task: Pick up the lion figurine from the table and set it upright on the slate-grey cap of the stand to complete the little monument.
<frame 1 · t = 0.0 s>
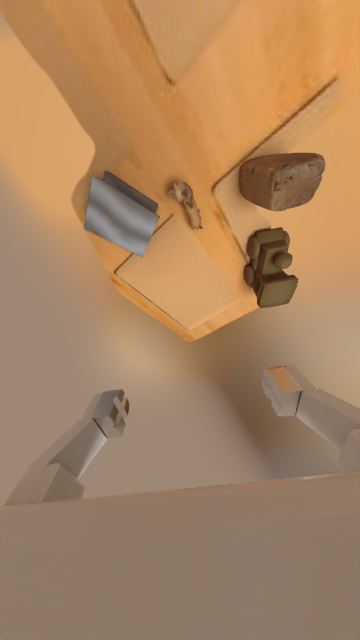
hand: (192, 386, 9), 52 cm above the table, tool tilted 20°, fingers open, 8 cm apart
wooden toy train: (259, 256, 60), on the table
stand: (126, 215, 47), on the table
block: (257, 174, 43), on the table
lion figurine: (186, 204, 47), on the table
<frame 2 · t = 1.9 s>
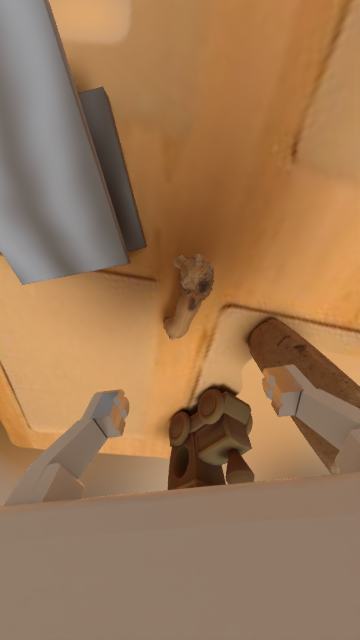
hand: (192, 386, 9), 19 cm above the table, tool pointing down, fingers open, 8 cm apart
wooden toy train: (204, 409, 41), on the table
stand: (76, 197, 20), on the table
block: (271, 339, 31), on the table
lion figurine: (182, 293, 27), on the table
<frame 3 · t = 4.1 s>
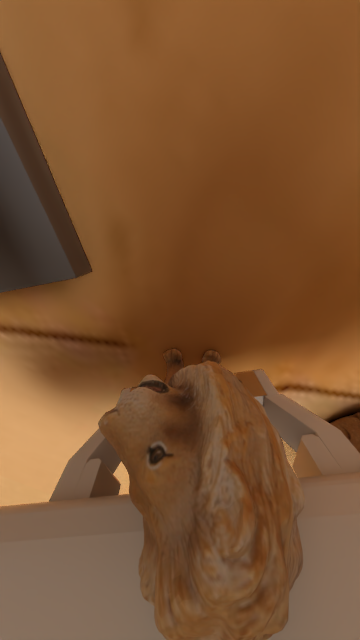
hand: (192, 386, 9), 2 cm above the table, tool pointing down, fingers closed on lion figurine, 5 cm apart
block: (352, 433, 17), on the table
lion figurine: (174, 379, 13), on the table, touching gripper
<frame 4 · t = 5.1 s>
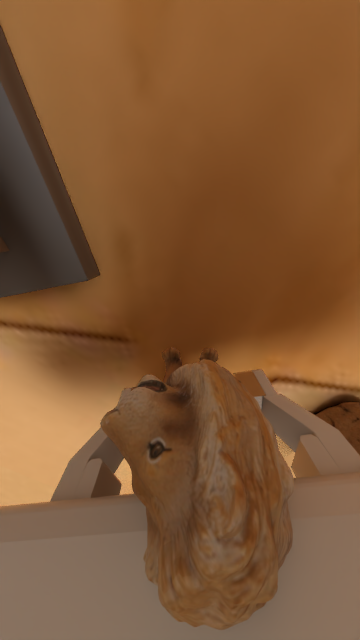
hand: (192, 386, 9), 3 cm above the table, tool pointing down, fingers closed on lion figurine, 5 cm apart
block: (339, 423, 18), on the table
lion figurine: (173, 377, 13), point 1 cm above the table, touching gripper
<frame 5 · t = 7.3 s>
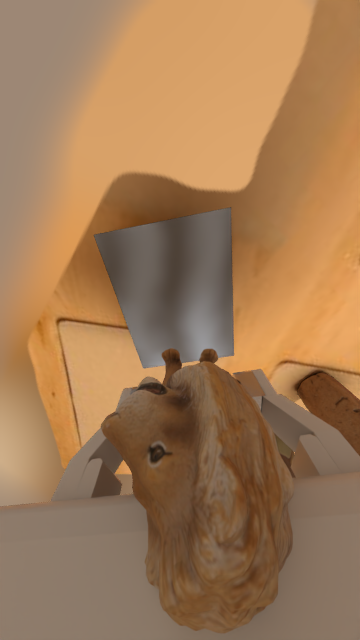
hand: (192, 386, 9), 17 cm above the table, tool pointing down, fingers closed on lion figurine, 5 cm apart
wooden toy train: (245, 439, 45), on the table
stand: (176, 286, 24), on the table
block: (317, 386, 35), on the table
lion figurine: (173, 378, 13), point 15 cm above the table, touching gripper
when the fingers open (11 cm above the table, at t = 9.4 s): lion figurine moves 2 cm, resting on stand.
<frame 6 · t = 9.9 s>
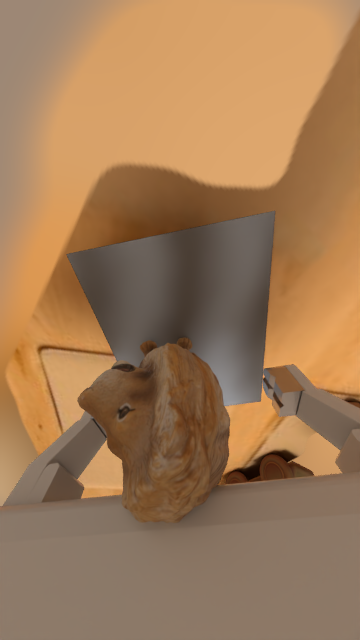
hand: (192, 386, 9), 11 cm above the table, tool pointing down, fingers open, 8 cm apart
wooden toy train: (259, 468, 40), on the table
stand: (184, 308, 19), on the table
lion figurine: (154, 368, 14), point 8 cm above the table, touching gripper, stand
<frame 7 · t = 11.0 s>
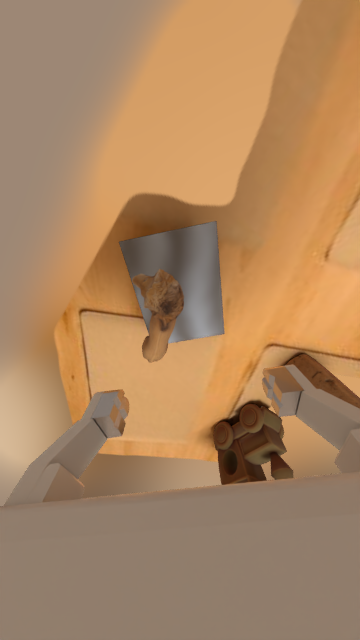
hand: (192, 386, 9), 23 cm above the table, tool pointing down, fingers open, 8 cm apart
wooden toy train: (240, 419, 50), on the table
stand: (178, 281, 30), on the table
block: (300, 367, 41), on the table
lion figurine: (160, 308, 24), point 7 cm above the table, touching stand
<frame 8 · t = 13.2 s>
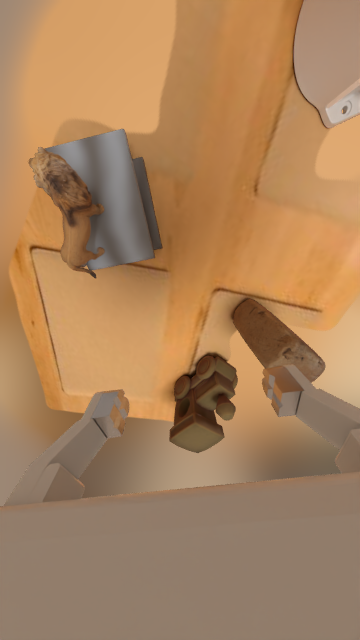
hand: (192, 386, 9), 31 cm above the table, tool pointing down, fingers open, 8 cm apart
wooden toy train: (201, 375, 52), on the table
stand: (119, 216, 32), on the table
block: (250, 315, 42), on the table
lion figurine: (89, 228, 26), point 7 cm above the table, touching stand
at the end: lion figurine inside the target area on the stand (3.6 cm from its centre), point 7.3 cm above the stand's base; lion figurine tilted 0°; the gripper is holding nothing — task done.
